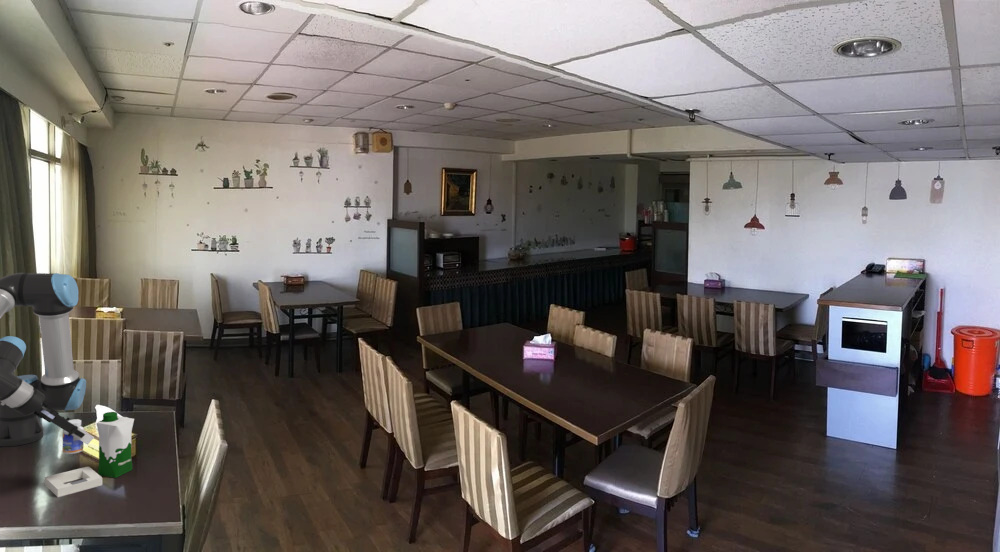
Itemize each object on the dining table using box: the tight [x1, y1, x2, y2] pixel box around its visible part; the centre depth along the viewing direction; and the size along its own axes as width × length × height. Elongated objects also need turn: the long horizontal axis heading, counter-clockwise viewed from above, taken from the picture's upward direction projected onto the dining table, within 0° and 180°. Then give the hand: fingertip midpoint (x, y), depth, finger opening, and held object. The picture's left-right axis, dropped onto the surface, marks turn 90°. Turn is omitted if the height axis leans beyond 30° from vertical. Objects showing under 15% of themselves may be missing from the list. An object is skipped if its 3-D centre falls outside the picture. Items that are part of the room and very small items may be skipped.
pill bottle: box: [62, 418, 85, 455], centre depth 191 cm, size 5×5×10 cm
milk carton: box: [95, 411, 135, 479], centre depth 202 cm, size 9×9×20 cm
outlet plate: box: [44, 466, 103, 498], centre depth 192 cm, size 12×12×3 cm
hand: (86, 438), depth 194 cm, fingers closed on pill bottle, 5 cm apart
